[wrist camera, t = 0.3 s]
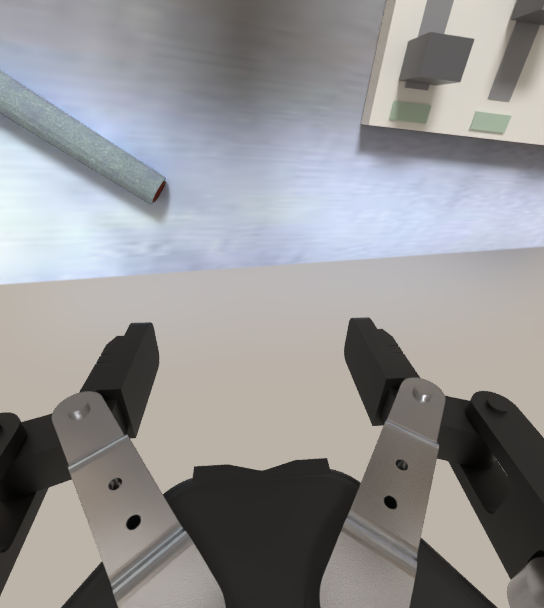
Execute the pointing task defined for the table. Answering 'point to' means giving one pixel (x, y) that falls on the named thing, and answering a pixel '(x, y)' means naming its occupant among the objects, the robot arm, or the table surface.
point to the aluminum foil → (77, 140)
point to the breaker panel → (473, 78)
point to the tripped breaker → (529, 11)
